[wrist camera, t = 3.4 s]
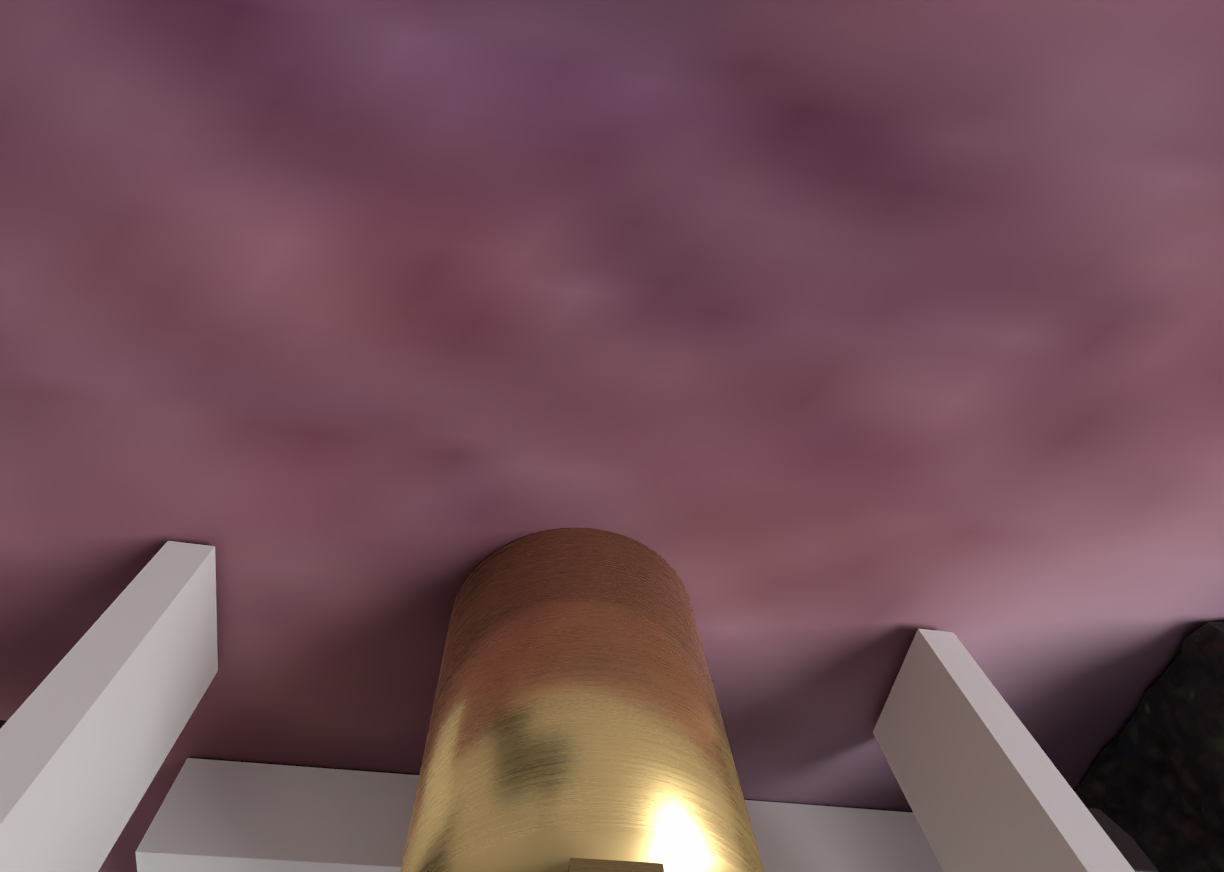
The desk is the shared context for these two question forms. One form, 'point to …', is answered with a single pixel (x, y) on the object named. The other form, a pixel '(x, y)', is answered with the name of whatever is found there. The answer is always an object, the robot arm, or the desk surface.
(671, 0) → the desk surface
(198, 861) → the shaft base
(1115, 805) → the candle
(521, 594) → the coupler
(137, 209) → the desk surface
